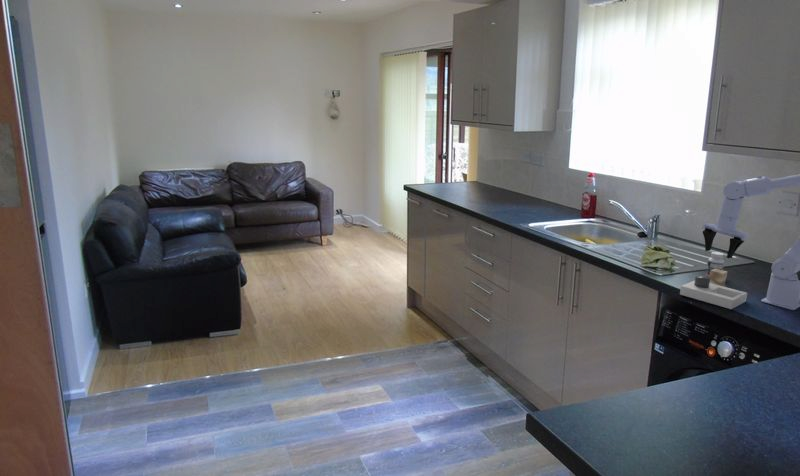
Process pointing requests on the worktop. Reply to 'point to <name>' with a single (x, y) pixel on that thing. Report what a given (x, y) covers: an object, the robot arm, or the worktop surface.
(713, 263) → the pill bottle
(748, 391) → the worktop surface
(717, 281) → the plug block
